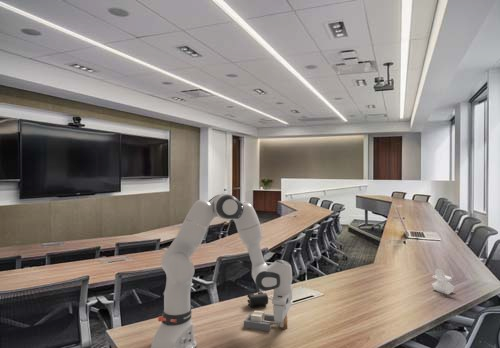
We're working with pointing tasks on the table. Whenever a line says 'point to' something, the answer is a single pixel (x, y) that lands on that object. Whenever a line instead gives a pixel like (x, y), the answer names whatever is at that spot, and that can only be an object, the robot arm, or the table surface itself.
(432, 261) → the table surface
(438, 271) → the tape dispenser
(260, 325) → the tray
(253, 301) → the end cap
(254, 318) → the corded block
